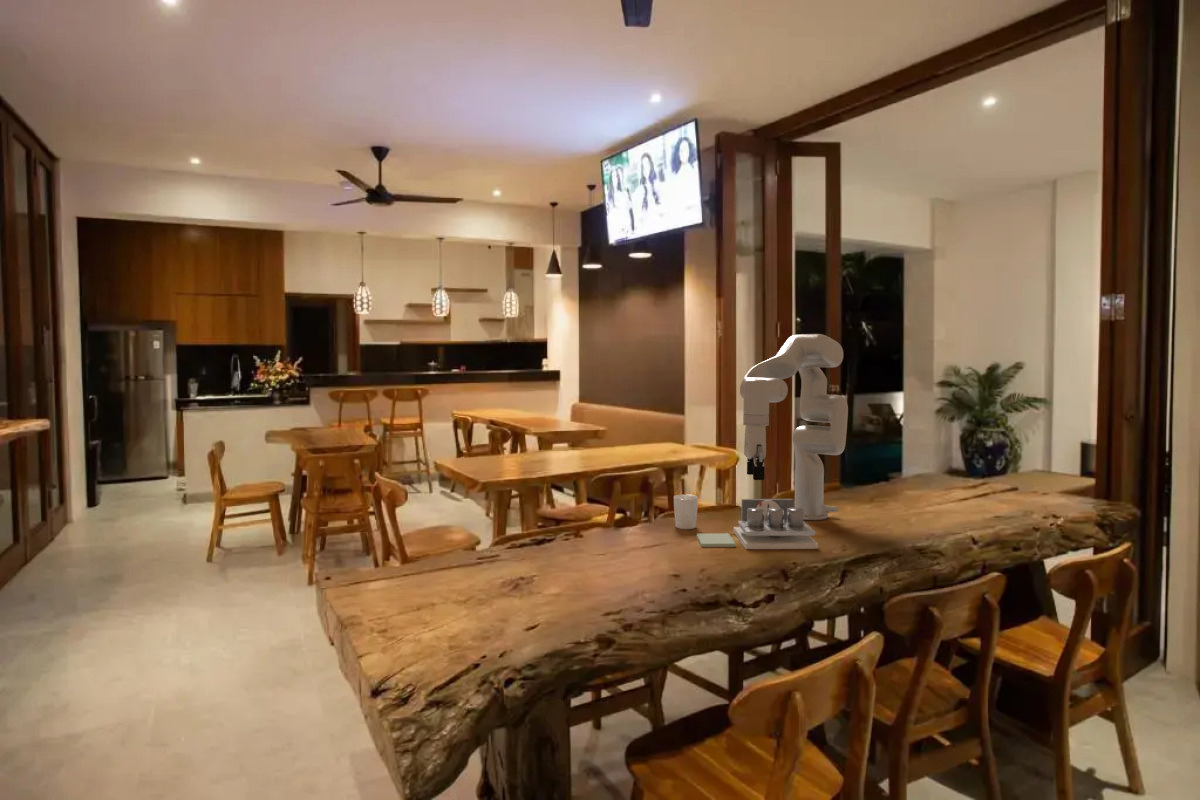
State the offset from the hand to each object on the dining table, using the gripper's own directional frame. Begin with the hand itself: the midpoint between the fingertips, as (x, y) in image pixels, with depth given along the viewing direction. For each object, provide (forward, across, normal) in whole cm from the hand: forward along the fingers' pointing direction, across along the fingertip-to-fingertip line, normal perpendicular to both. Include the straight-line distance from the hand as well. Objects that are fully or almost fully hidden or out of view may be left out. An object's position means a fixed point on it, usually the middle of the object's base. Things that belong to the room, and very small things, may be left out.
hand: (755, 477), depth 226 cm
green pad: (+20, 0, -12) cm, 23 cm away
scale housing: (+20, -2, +6) cm, 21 cm away
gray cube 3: (+15, 0, 0) cm, 15 cm away
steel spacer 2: (+15, 0, +12) cm, 19 cm away
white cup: (+20, -19, -19) cm, 33 cm away
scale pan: (+16, 0, +6) cm, 17 cm away
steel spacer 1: (+15, 0, +6) cm, 16 cm away
